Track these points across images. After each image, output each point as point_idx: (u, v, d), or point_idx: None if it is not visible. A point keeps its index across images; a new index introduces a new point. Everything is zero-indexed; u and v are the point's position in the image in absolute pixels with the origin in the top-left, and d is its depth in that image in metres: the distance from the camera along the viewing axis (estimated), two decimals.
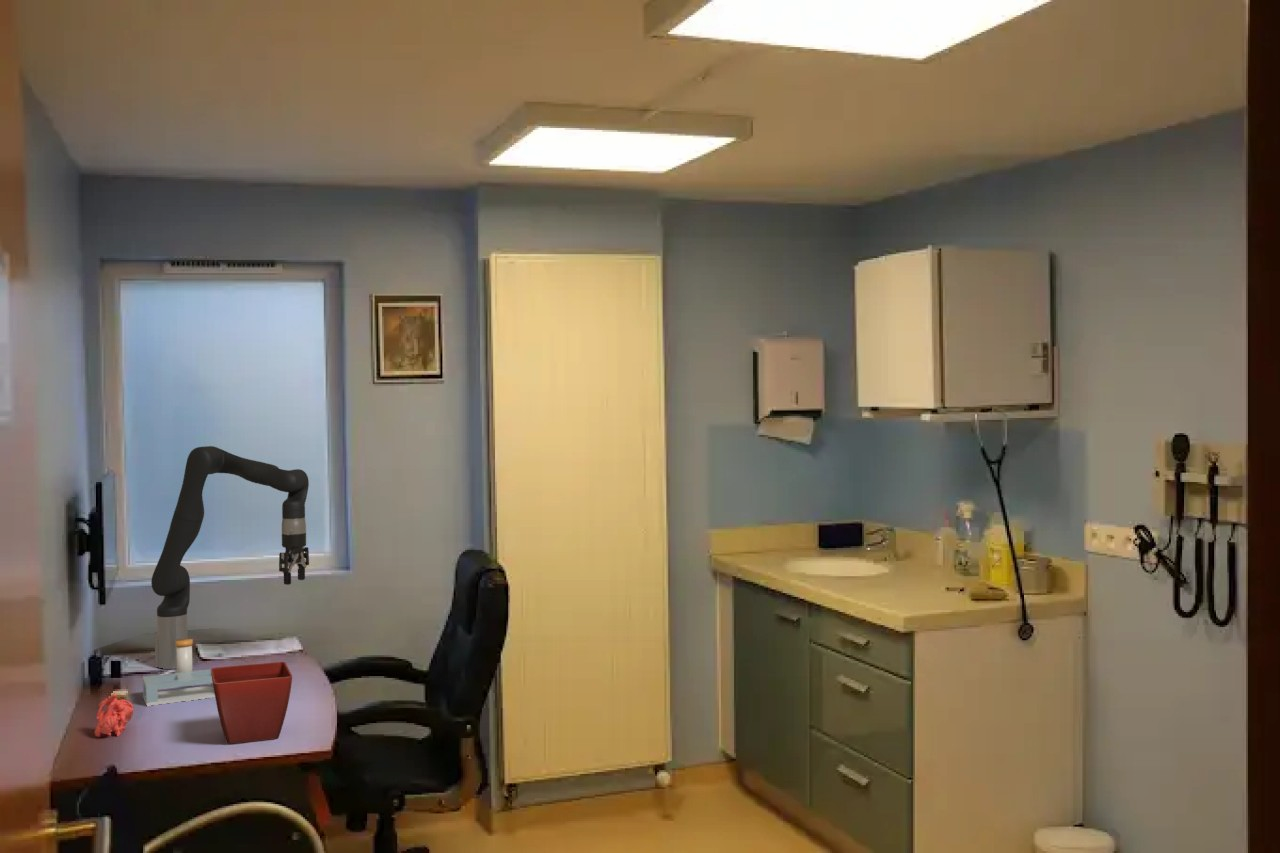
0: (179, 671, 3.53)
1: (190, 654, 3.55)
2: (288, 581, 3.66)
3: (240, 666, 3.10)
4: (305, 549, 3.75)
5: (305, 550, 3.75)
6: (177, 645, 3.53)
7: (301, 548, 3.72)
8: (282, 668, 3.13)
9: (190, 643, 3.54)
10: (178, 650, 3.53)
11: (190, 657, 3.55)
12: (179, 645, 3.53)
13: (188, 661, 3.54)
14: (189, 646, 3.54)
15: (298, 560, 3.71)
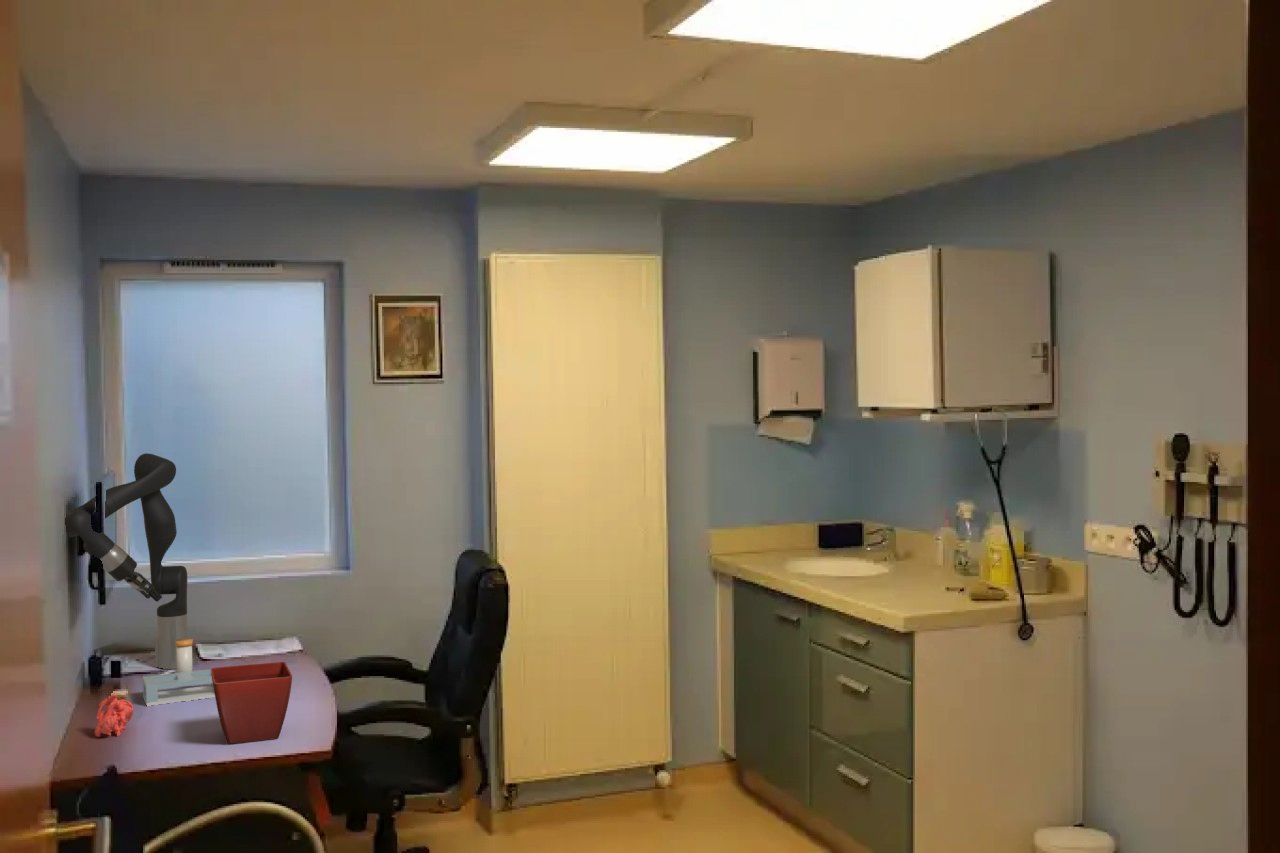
0: (179, 671, 3.53)
1: (190, 654, 3.55)
2: None
3: (240, 666, 3.10)
4: None
5: None
6: (177, 645, 3.53)
7: (129, 578, 3.43)
8: (282, 668, 3.13)
9: (190, 643, 3.54)
10: (178, 650, 3.53)
11: (190, 657, 3.55)
12: (179, 645, 3.53)
13: (188, 661, 3.54)
14: (189, 646, 3.54)
15: None
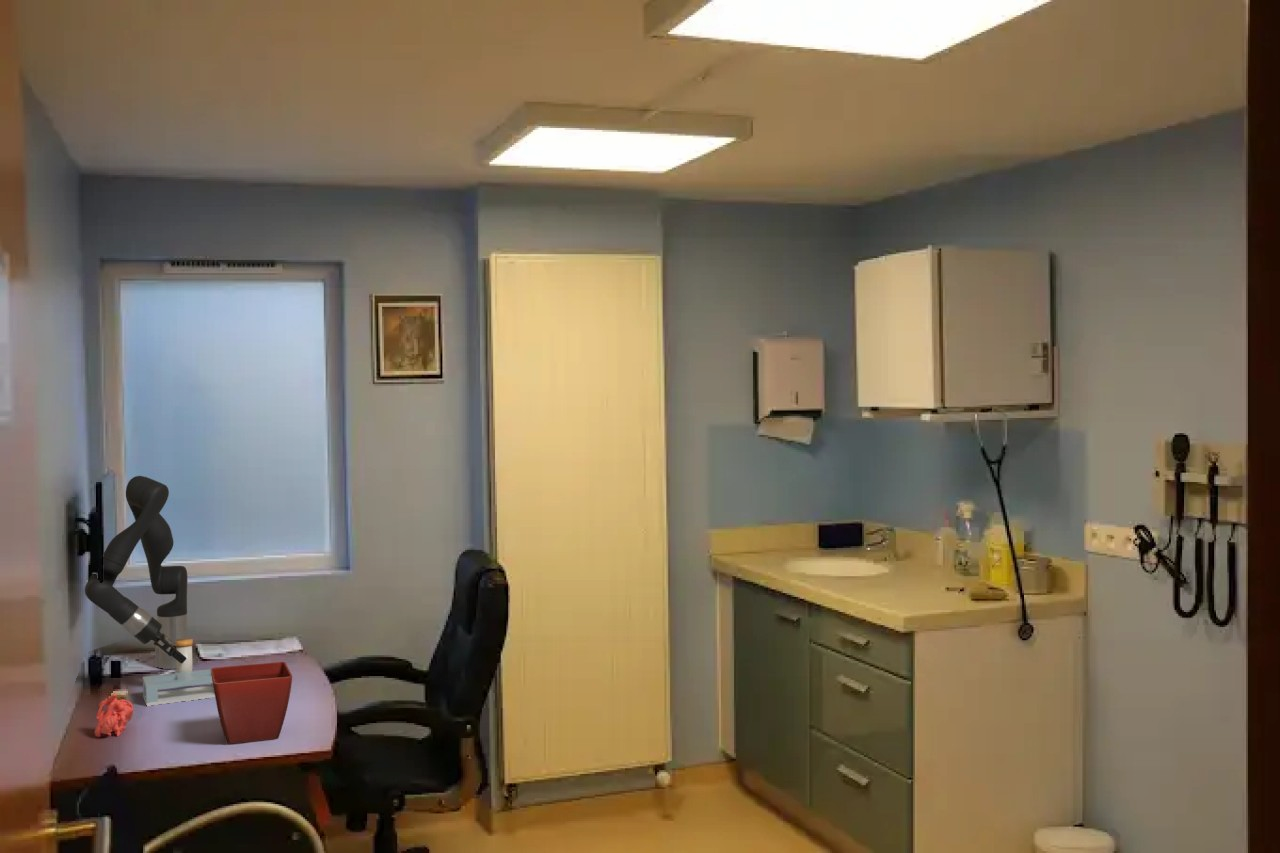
0: (179, 671, 3.53)
1: (190, 654, 3.55)
2: None
3: (240, 666, 3.10)
4: None
5: None
6: (177, 645, 3.53)
7: (154, 641, 3.49)
8: (282, 668, 3.13)
9: (190, 643, 3.54)
10: (178, 650, 3.53)
11: (190, 657, 3.55)
12: (179, 645, 3.53)
13: (188, 661, 3.54)
14: (189, 646, 3.54)
15: None
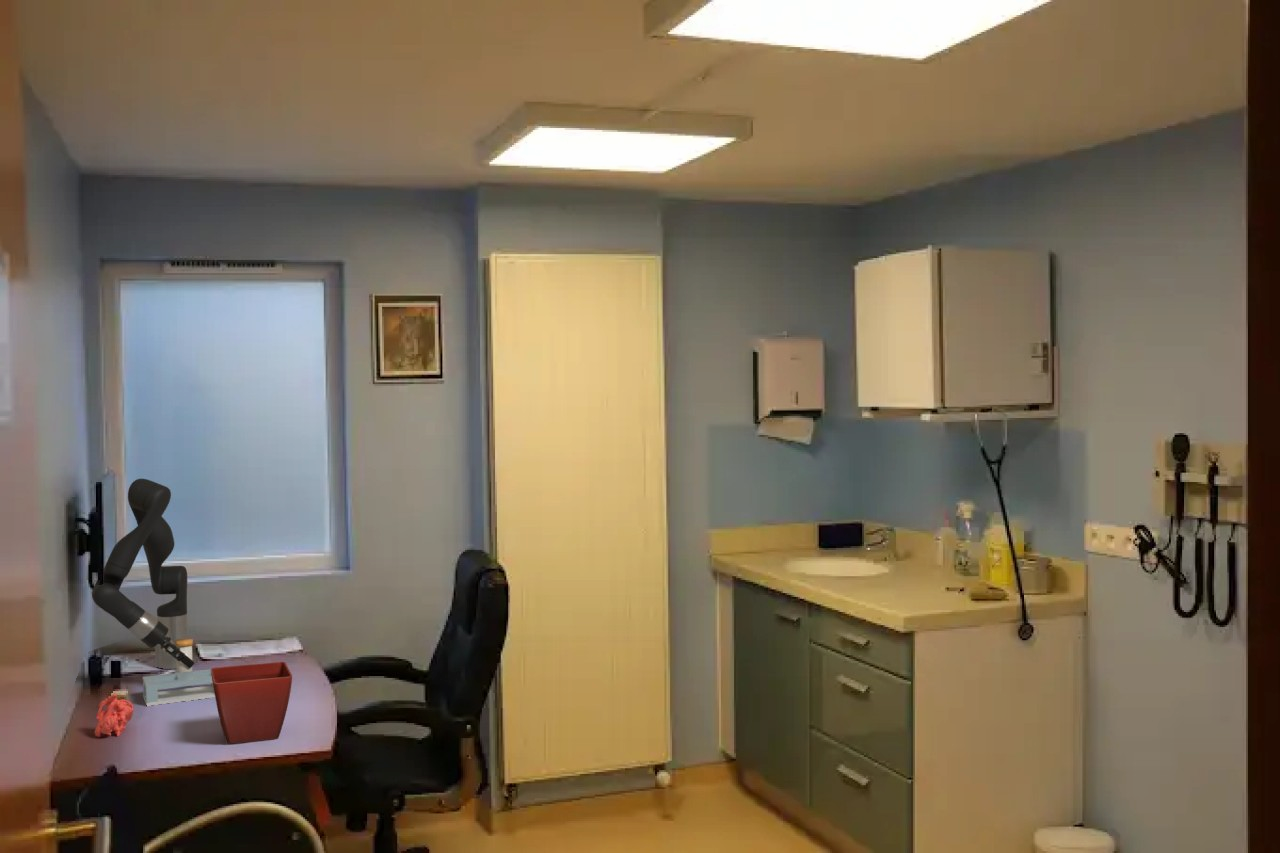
0: (179, 671, 3.53)
1: (190, 654, 3.55)
2: None
3: (240, 666, 3.10)
4: None
5: None
6: (177, 645, 3.53)
7: (160, 645, 3.49)
8: (282, 668, 3.13)
9: (190, 643, 3.54)
10: None
11: (190, 657, 3.55)
12: (179, 645, 3.53)
13: None
14: (189, 646, 3.54)
15: None
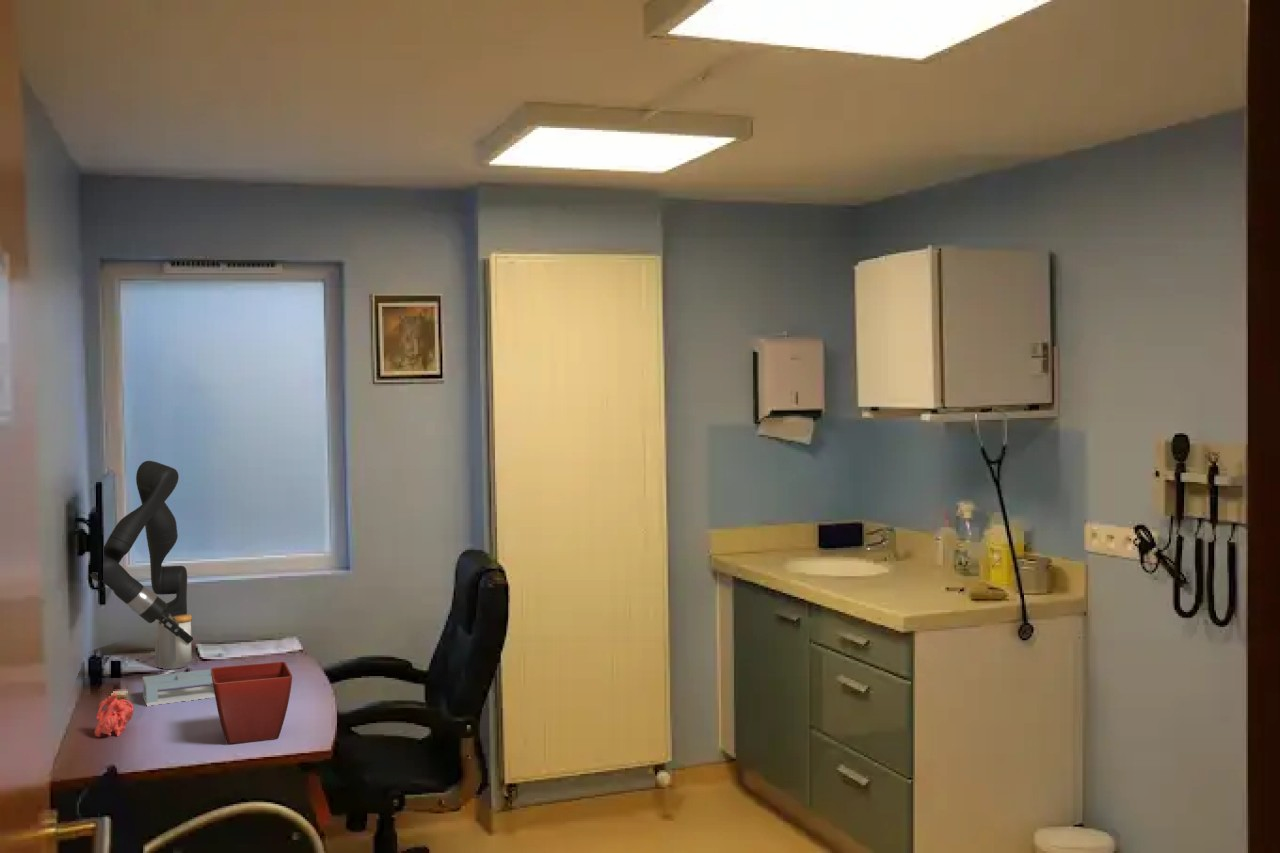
0: (178, 647, 3.53)
1: (189, 630, 3.55)
2: None
3: (240, 666, 3.10)
4: None
5: None
6: None
7: (159, 620, 3.49)
8: (282, 668, 3.13)
9: (189, 619, 3.54)
10: None
11: (189, 633, 3.55)
12: (178, 621, 3.53)
13: None
14: (188, 621, 3.54)
15: None
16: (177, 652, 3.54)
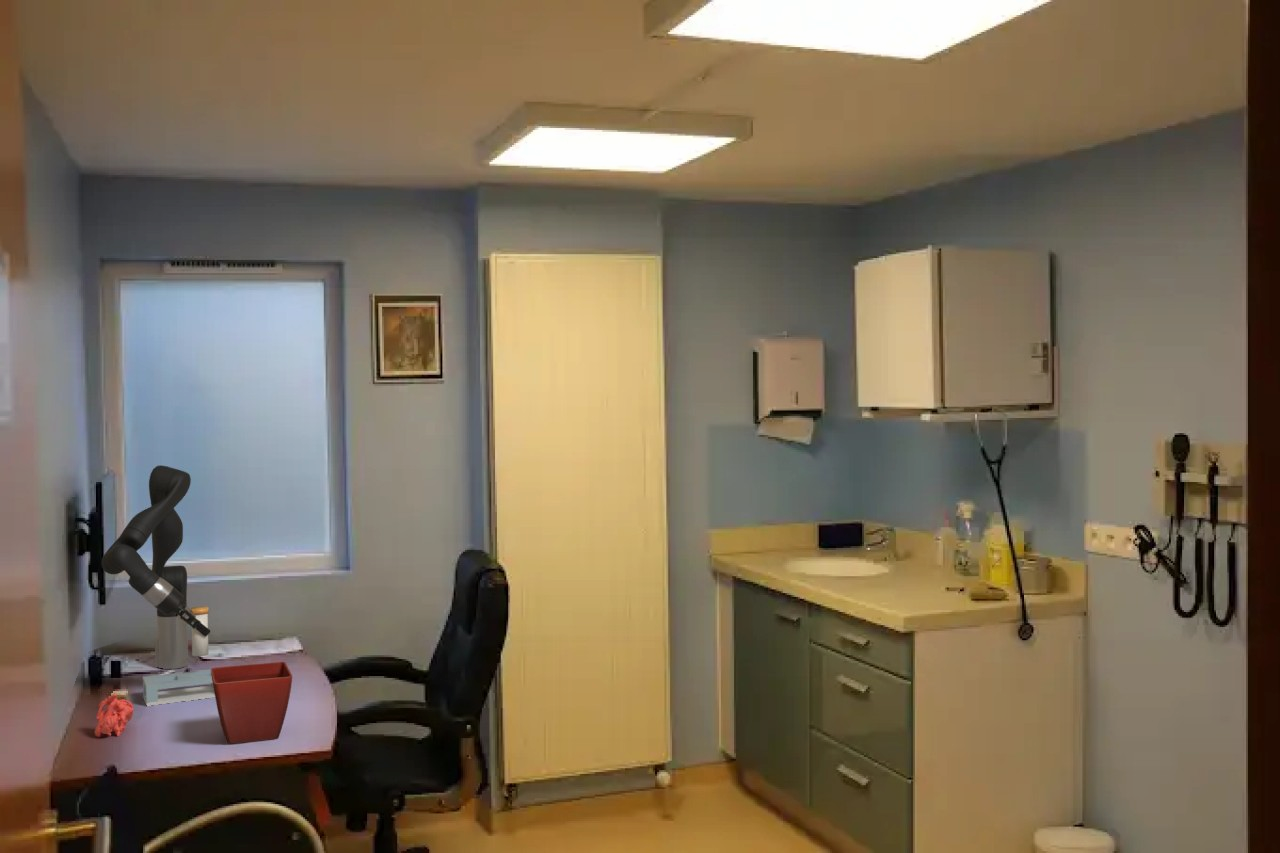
0: (194, 639, 3.42)
1: (206, 622, 3.43)
2: None
3: (240, 666, 3.10)
4: None
5: None
6: None
7: (175, 612, 3.38)
8: (282, 668, 3.13)
9: (206, 611, 3.43)
10: None
11: (206, 625, 3.43)
12: (194, 613, 3.42)
13: None
14: (205, 613, 3.43)
15: None
16: (193, 645, 3.42)
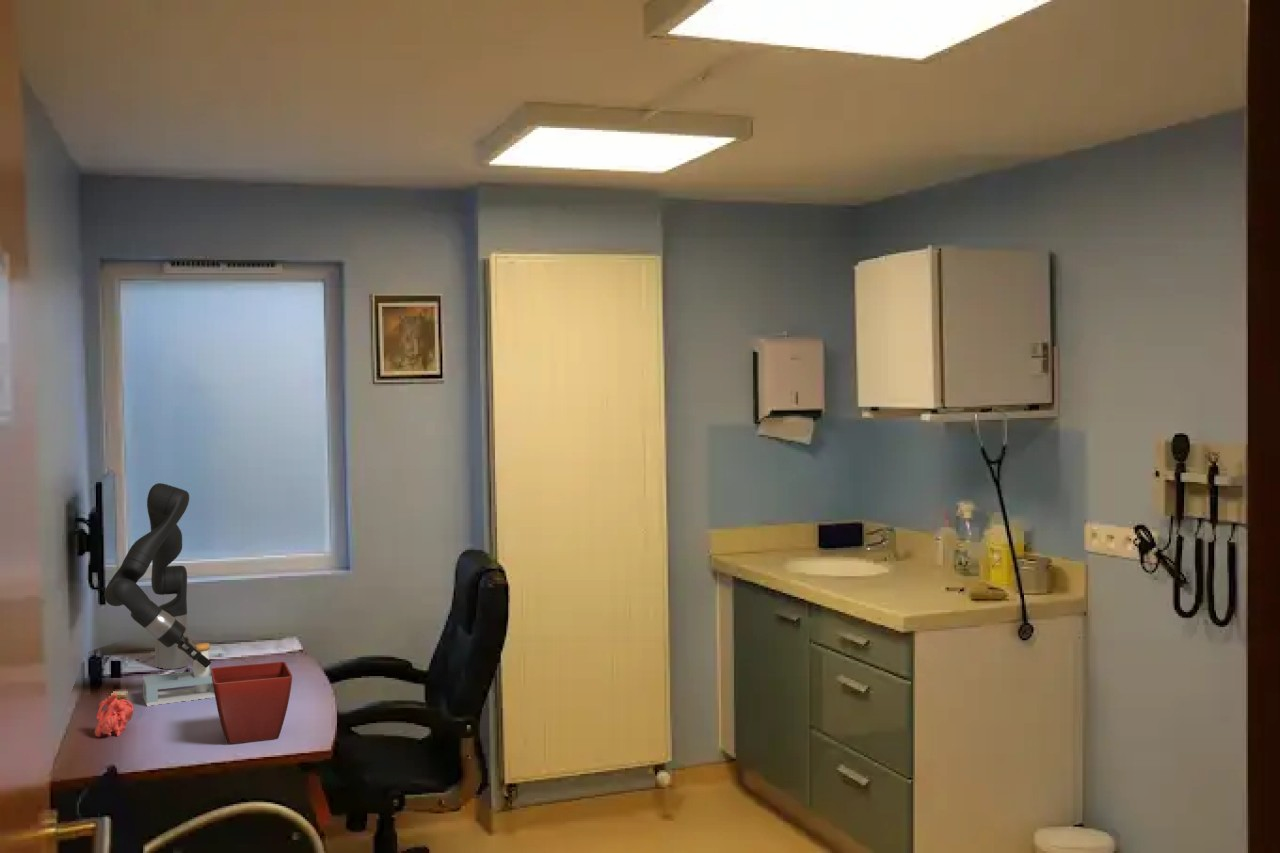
0: (196, 676, 3.42)
1: (207, 658, 3.44)
2: None
3: (240, 666, 3.10)
4: None
5: None
6: None
7: (177, 644, 3.39)
8: (282, 668, 3.13)
9: (207, 647, 3.43)
10: None
11: None
12: None
13: None
14: (206, 650, 3.43)
15: None
16: None
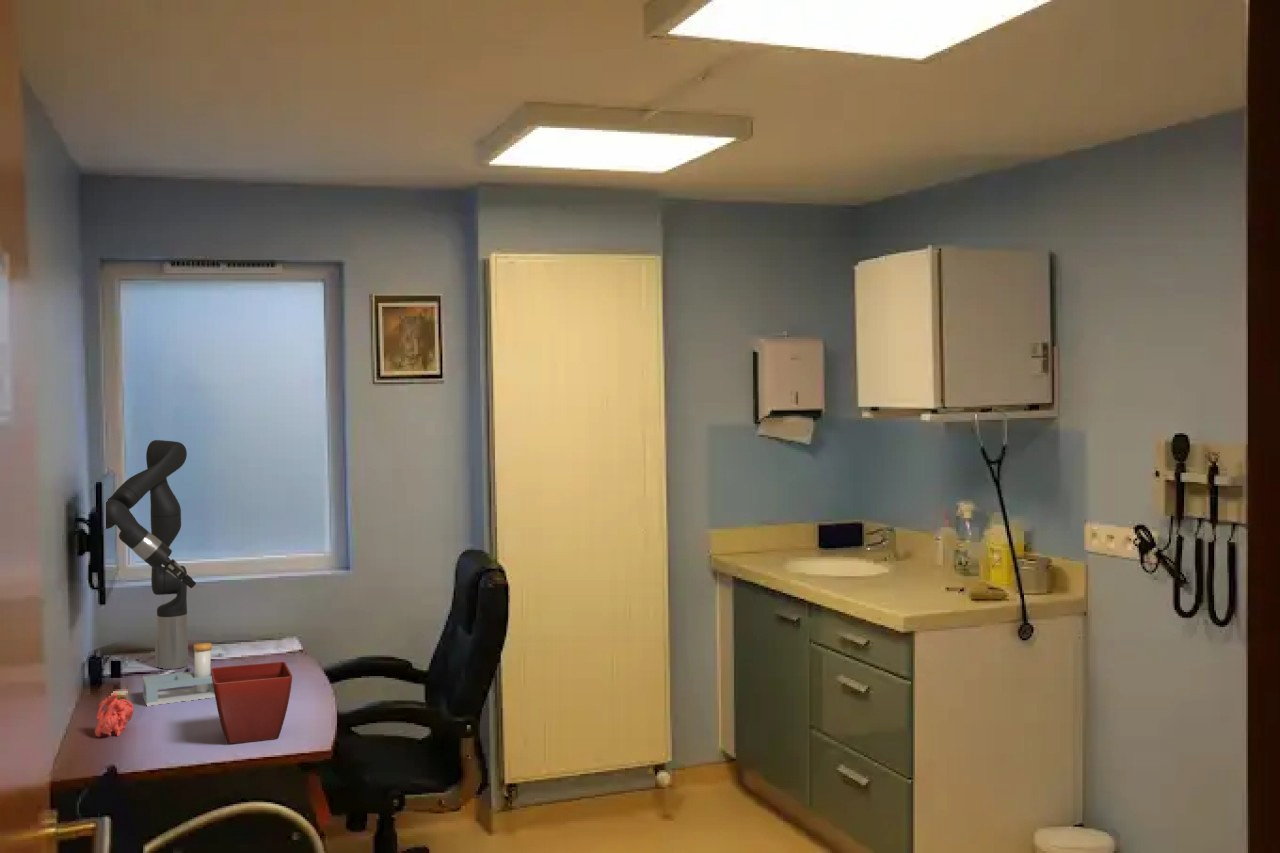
0: (196, 676, 3.42)
1: (208, 659, 3.44)
2: None
3: (240, 666, 3.10)
4: None
5: None
6: (195, 649, 3.42)
7: (164, 565, 3.53)
8: (282, 668, 3.13)
9: (209, 647, 3.43)
10: (196, 654, 3.42)
11: (208, 662, 3.44)
12: (197, 649, 3.42)
13: (206, 666, 3.43)
14: (207, 650, 3.43)
15: None
16: None
